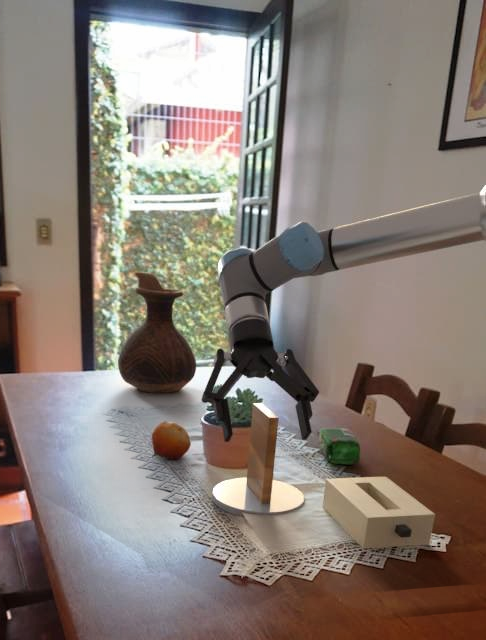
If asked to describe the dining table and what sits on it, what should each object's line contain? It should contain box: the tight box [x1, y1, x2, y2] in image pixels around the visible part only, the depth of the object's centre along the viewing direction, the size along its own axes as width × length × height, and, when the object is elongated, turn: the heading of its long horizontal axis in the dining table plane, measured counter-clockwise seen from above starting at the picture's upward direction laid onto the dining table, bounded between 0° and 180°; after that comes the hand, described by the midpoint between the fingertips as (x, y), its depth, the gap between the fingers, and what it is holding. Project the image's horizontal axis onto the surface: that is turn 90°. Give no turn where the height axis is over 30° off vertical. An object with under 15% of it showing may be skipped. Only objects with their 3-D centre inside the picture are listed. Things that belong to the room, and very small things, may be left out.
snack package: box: [317, 427, 361, 466], centre depth 143 cm, size 7×16×5 cm, turn 179°
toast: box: [246, 402, 280, 504], centre depth 116 cm, size 2×9×15 cm, turn 13°
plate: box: [211, 477, 305, 518], centre depth 119 cm, size 16×16×1 cm
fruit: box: [151, 421, 191, 461], centre depth 137 cm, size 8×8×8 cm
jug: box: [117, 271, 197, 394], centre depth 186 cm, size 22×22×30 cm
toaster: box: [322, 476, 436, 550], centre depth 108 cm, size 11×18×6 cm, turn 13°
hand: (268, 437), depth 113 cm, fingers open, 13 cm apart
